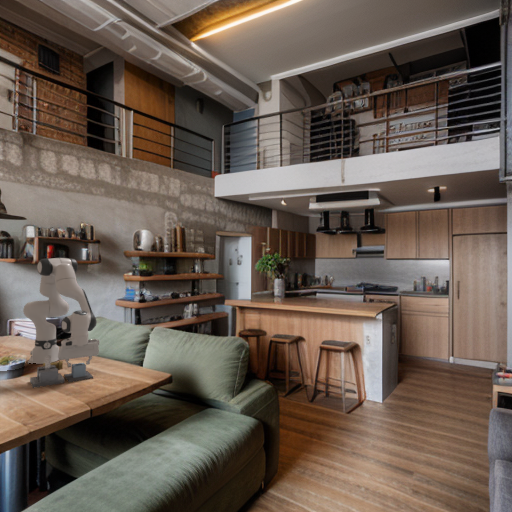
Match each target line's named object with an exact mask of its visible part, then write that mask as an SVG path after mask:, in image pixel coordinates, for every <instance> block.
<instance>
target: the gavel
mask: <svg viewBox="0 0 512 512" xmlns="http://www.w3.org/2000/svg"><path fill="white" fill-rule="evenodd" d="M63 361H64V360H58V362H57V361H55V362H51V363H50V365H55V366H56V368H57V369H58V370H62V369H63V363H64V362H63ZM43 366H45V363H43V364H42V367H43Z"/></svg>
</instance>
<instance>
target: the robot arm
mask: <svg viewBox="0 0 512 512" xmlns="http://www.w3.org/2000/svg"><path fill="white" fill-rule="evenodd" d="M78 264H79V263H78V262H77V260H76V259H75V258H68V257H55V258H41V259H40V260H39V261H38V263H37V267H36V268H37V272H38V274H39V275H40V276H41V277H40V284H39V293H40V294H41V295H42V296H43V297H45V298H48V299H47V300H34V301H29V302H26V303H25V305H24V307H23V308H22V309H23V310H22V312H23V314H24V316H25V318H28V319H29V320H30V321H31V322H32V323H33V324H34V328H35V339H34V347H33V348H32V350H30V354H29V355H30V357H29V359H28V361H27V364H29V363H31V364H33V363H36V364H35V365H43V363H45V356H51V363H54V362H57V361H64V360H65V362H66V364H67V368H72V363H71V362H70V363H69V361H70V360H71V359H79V358H87V357H88V359H87V360H86V363H85V365H86V366H87V365H90V363H91V361H92V359H93V357H95V356H98V355H99V353H100V349H99V348H100V347H99V346H100V340H99V339H97V338H94V339H93V338H91V339H89V334H90V333H89V332H92V331H93V330H95V328H96V326H97V322H98V321H97V318H96V316H95V314H94V312H93V309H92V308H91V304H90V301H89V298H88V295H87V294H86V291H85V290H84V288H81V286H80V285H79V283H78V282H77V275H76V273H77V272H78V269H79V266H78ZM62 296H63V297H66V298H69V299H71V300H75V301H76V302H77V303H78V304H79V307H80V310H75V311H73V312H72V313H71V314H69V315H68V316H66V315H67V314H68V313H69V311H70V304H69V302H67V301H66V300H65V299H64V298H63V297H62ZM63 316H64V318H63V319H61V323H60V324H61V330H62V331H63V332H64V333H65V334H71V335H70V337H68V338H65V339H63V340H61V341H60V344H61V345H60V346H58V345H57V341H58V340H57V326H56V325H55V324H54V323H52V322H48V321H47V318H57V317H58V318H59V317H63Z"/></svg>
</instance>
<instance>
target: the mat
mask: <svg viewBox="0 0 512 512" xmlns="http://www.w3.org/2000/svg"><path fill="white" fill-rule="evenodd" d="M64 376H65V377H64ZM63 377H64V379H65V380H66V381H67V380H68V381H67V382H68V383H73V381H74V382H79V380H80V381H85V379H86V380H91V379H90V378H92V379H94V376H93V375H92V374H91V372H90V371H88V370H86V376H83V377H76V378H73V377H72V375H71V373H65V374H63Z"/></svg>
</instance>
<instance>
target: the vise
mask: <svg viewBox="0 0 512 512" xmlns="http://www.w3.org/2000/svg"><path fill="white" fill-rule="evenodd" d="M50 363H52V362H51V356H45V366H43V365H42V366H37V368H36V369H37V371H36V376H32V377H30V378H29V382H30V385H31V384H32V385H31V388H32V389H35V388H34V387H37V388H41V387H40V386H43V387H47V386H46V385H49V386H53V384H55V385H60V383H61V384H65V380H66V378H65V377H64V375H62V373H60V372H59V369H57V368H56V366H55V365H50Z"/></svg>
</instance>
